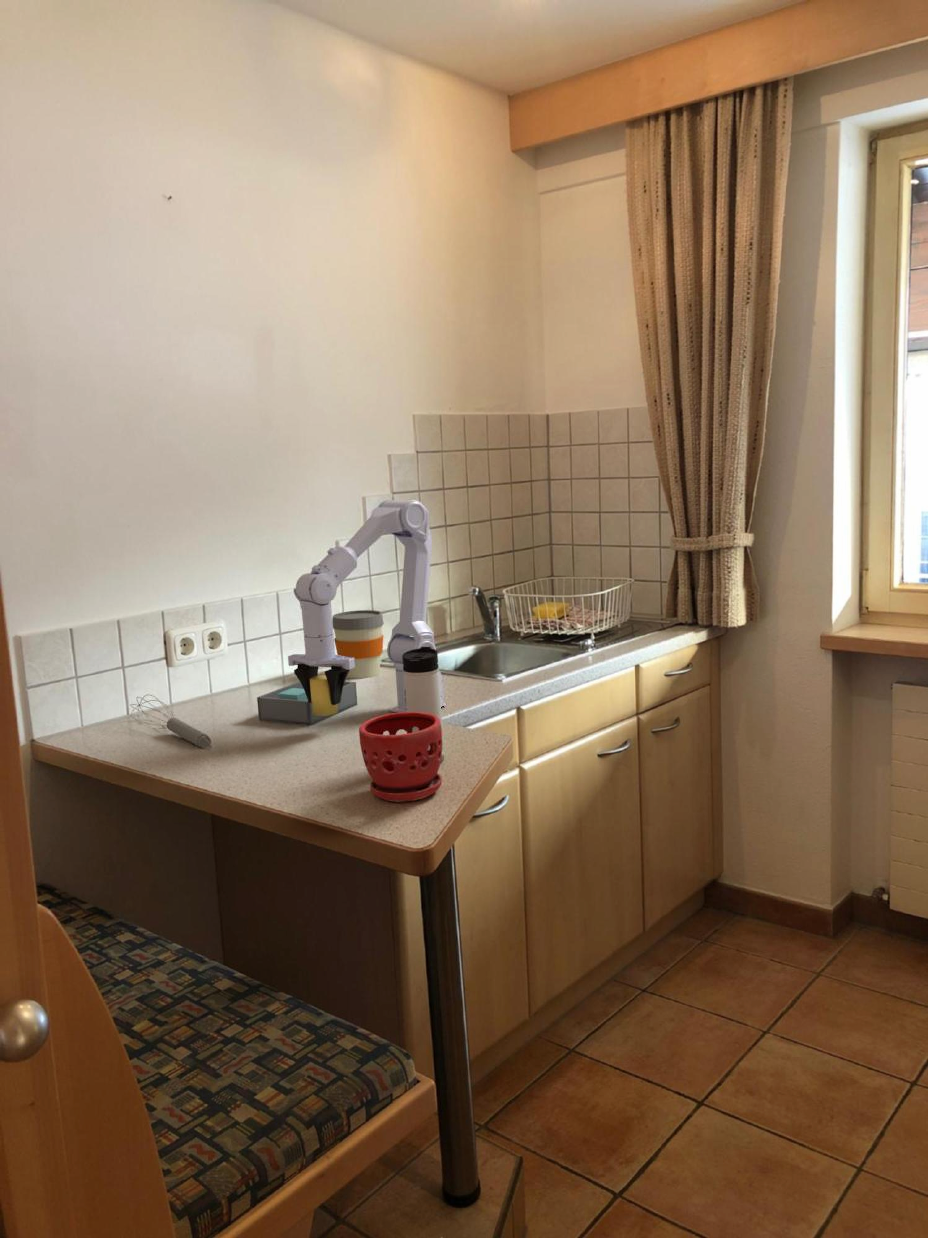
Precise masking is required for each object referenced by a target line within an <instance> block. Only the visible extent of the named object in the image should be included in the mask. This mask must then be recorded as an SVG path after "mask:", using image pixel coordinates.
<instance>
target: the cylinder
mask: <svg viewBox="0 0 928 1238" xmlns="http://www.w3.org/2000/svg"><path fill="white" fill-rule="evenodd" d="M310 690H311V702H312V713H313V715H315V716H328V715H333V714H335V715H337V714H338V713H337V712H338V704H336V705H332V703H331V698H330V689H329V684H328V681H327V678H326V675H325V674H320V675H317V676H314V677H311V678H310ZM336 713H337V714H336ZM333 716H334V715H333Z"/></svg>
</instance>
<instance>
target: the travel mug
mask: <svg viewBox="0 0 928 1238" xmlns="http://www.w3.org/2000/svg"><path fill="white" fill-rule="evenodd" d="M402 659H403V665H404V666H403V673H404V674H403V680H404V695H405V710H406V712H424V713H429V714H433V715H435V716H437V717H438V718H439V719H440V722H441V728H442V729H443V717H442V714H443V713H442V708H441V697H440V680H439V672H438V671H440V668H439V654H438V650H437V649H436V650H435V649H431V647H420V648H419V649H413V650H410V651H407V652H405V653H404V654H403V655H402ZM417 731H419V729H418V728H417V727H413V732H417ZM443 733H444V731H443V730H442V744H443V745H442V758H441V763H442V762H443V761H444V759H445V752H444V736H443V735H444V734H443ZM406 734H408V733H407V732H406ZM428 749H429V750H430V745H429V747H428Z"/></svg>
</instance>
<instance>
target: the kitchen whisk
mask: <svg viewBox="0 0 928 1238" xmlns="http://www.w3.org/2000/svg"><path fill="white" fill-rule="evenodd" d="M147 696H148V694H145V695H144V696H143V697H140V696H137V697H136V699H139V698H140V699H141V700H140V702H139V701H138V700H136V703H137V704H135V703H131V704H130V707H131V708H133V709H132V711H131V713H130V716H131V717H132V718H133V719H134V720H136V721H137V722H139V723H140V722H141V723H142V724H143V723H144V724H147V725H153V726H158V724H156V723H151V722H150V723H149V722H145V721H142V720H140V717H139V716H137V719H136V718H135V717H134V716H133V712H134V710H136V711H137V712H141V713H143V714H144V715H145V716H146V717H147V718H148V717H149V716H150V717H152V718H155V719H157V720H159V721H161V722H164V723H166V725H164V724H159V727H160V728H159V729H158V730H165V729H168V731H170V732H172V733H174V734H176V735H177V736H179V737H182V738H183V739H185V740H186V741H188V742H190V743H191V744H193V745H195V746H197V747H198V748H203V749H207V748H209V747H210V748H209V749H210V750H211V749H212V748H213V746H212V739H211V738H210V735H208V734H205V733H204V732H202V731H200V730H199V729H197V728H195V727H193V726H191V725H189V724H187V723H185V722H183V721H182V720H180V719H179V718H176V717H175V716H174V714H173V712H172V710H171V709H170V708H169V706H167V704H166V703H165V702H163V701H160V700H159V699H158V698H157V697H156V696H154V695H153V694H150V696H151V697H153V698H155V699H151V700H146V699H145V697H147ZM142 700H143V701H144V702H142ZM152 701H154V702H155V701H156V702H159V703H160V704H161V705H162V707H164V709H165V710H166V712H167V713H168V714H169V715H167V714H165V713H163V712H161V711H160V710H159V708H157V707H156V706H154V705H153V704H151V703H150V702H152ZM145 703H148V704H149V705H150V706H151V707H149V706H144V705H143V704H145ZM134 705H135V706H136V707H134ZM165 706H166V707H165ZM142 707H144V708H147V709H151V710H153V711H155V712H158V713H160V714H162V715H163V716H164V717H165V718H166V719H167V721H165V720H162V719H161V718H158V717H155V716H154V715H151V714H148V713H146V712H145V711H144V710H143V708H142ZM152 707H153V708H152ZM168 710H169V711H168ZM138 718H139V719H138ZM139 720H140V721H139ZM161 726H162V727H161ZM164 726H166V727H164Z"/></svg>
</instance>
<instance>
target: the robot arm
mask: <svg viewBox="0 0 928 1238" xmlns="http://www.w3.org/2000/svg"><path fill="white" fill-rule="evenodd" d="M429 521H430V512H429V511H428V509H427V508H426V507H425V506H424V504H423V503H421V502H420V501H418V500H417V499H412V500H411V499H410V500H393V499H385V500H383V501H381V502H380V503H379V505H378V506H377V507H374V509H372V511H371V514H370V516H369V518H367V520H366V521H365V522H364V524H363V525H362V526H361V527H360V528H359V529H358V530H357V531H356V533H355V534H353V536H352V537H351V538H350V539H349V541H348V542H346V544H345V545H344V546H341V545H338V546H335V547H330V548H329V549H328V550H327V552H326V553H327V555H325V557H323V559H322V560H320V562H319V563H318V564H314V565H313V566H312V567H311V571H310V572H307V573H304V574H302V575H301V576H300V577H299V578H298V579H297V581H296V583H295V588H293V595H294V596H295V598H296V599H297V600H298V601H299V607H300V609H301V616H302V617H301V619H302V628H303V629H302V630H303V638H304V651H305V652H304V654H298V653H297V654H295V653H293V654H291V655H288V656H287V661H288V666H290V667H294V666H297V667H296V668H294V669H293V674H294V675H295V676H296V677H297V679H298V680H299V681H300V682H301V684H302V686H303V688H304V691H305V693H306V696H307V699H308V702H309V703H312V702H311V690H310V678H311V677H314V676H318V672H319V669H320V668H319V667H321V668H330V669H328V670H327V669H326V670H325V671H324V675H326V678H327V681H328V684H329V689H330V698H331V703H332V705H336V704H338V703H340V702H341V695H342V690H343V686H344V682H345V681H346V679H347V678H346V677H347V675H348V673H349V671H350V669H352V668H355V660H354V658H351V657H345V656H340V655H337V654H336V651H335V650H336V645H335V640H334V639H335V633H334V629H333V622H332V620H333V612H332V601H333V600H334V599H335V598H336V594H337V590H338V587H339V586H340V585H341V584H342V583H343V582H344V581H345V580H346V579H347V578H348V577H349V576H350V575H351V574H352V572H353V571H355V570H356V568H357V567H358V558H359V557H360V556H362V555H363V554H364V553H365V552H366V551H367V550H368V549H369V548H371V546H373V545H374V544H375V543H376V542H377V541H378V540H380V538H382V536H384V535H387V534H390V535H393V536H394V537H395V538H397V540H398V541H400V543H401V544H402V545H403V546H404V557H403V570H402V571H403V572H402V584H401V586H402V587H401V599H400V612H399V613H400V614H399V621H398V623H396V624H395V626H394V627H393V628H392V629H391V636H390V639H389V641H388V643H387V647H386V652H387V657H388V658H389V660H390V662H392V663H393V668H394V669H395V681H396V682H395V683H396V697H397V698H396V699H397V700H396V701H397V705H396V706H393V707H391V708H390V709H389V712H391V713H398V712H406V710H405V695H404V680H403V674H404V673H403V666H404V665H403V659H402V655H403V654H404V653H405V652H407V651H410V650H413V649H419V648H420V647H431V649H435V650H436V651H437V648H436V645H435V640H434V639H435V633H434V632H433V630H432V629H431V628H430V627H429V624H427V614H428V613H427V612H428V600H429V599H428V598H429V587H430V586H429V585H430V582H429V581H430V572H431V558H432V557H431V556H432V546H433V545H432V543H433V541H432V539H433V537H432V533H431V530H430V524H429V523H430V522H429ZM438 672H439V680H440V697H441V707H442V706H444V707H446V706H447V704H446V703H445V696H444V695H445V694H444V693H445V692H444V680H443V679H444V678H443V675H442V673H441V671H440V670H439V671H438ZM299 681H298V682H299ZM445 705H446V706H445ZM442 708H443V707H442Z"/></svg>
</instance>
